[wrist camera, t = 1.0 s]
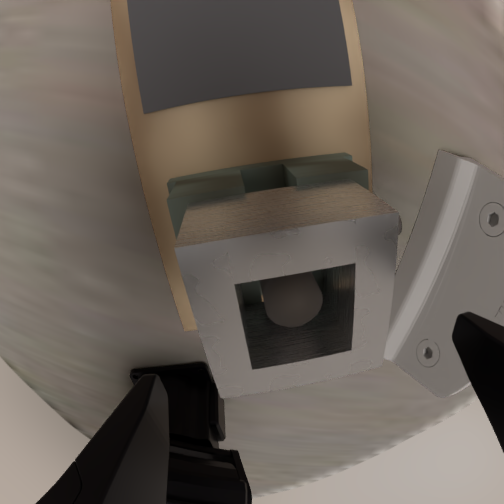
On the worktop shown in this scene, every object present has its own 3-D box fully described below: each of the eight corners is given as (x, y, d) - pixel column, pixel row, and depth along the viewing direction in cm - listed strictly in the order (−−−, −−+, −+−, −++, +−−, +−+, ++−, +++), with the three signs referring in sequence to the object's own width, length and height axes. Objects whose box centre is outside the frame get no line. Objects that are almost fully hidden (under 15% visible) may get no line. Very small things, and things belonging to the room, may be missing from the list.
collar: (219, 332, 15) (220, 398, 11) (188, 203, 12) (174, 248, 9) (351, 309, 15) (382, 366, 11) (350, 178, 12) (399, 212, 9)
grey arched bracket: (440, 143, 18) (571, 203, 10) (467, 158, 20) (576, 212, 12) (361, 346, 25) (440, 430, 17) (395, 336, 27) (468, 406, 19)
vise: (187, 312, 22) (175, 421, 13) (117, -45, 11) (56, -116, 3) (365, 281, 22) (425, 371, 14) (328, -69, 11) (389, -143, 3)
